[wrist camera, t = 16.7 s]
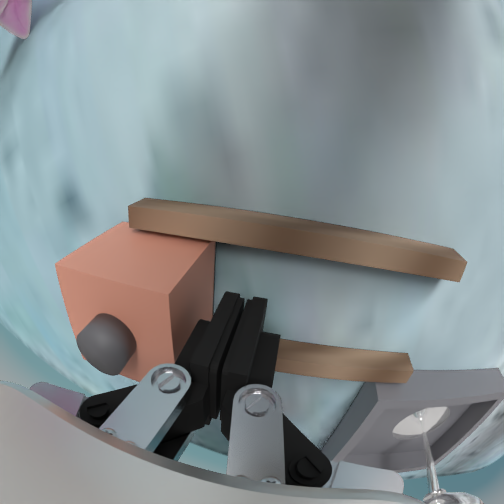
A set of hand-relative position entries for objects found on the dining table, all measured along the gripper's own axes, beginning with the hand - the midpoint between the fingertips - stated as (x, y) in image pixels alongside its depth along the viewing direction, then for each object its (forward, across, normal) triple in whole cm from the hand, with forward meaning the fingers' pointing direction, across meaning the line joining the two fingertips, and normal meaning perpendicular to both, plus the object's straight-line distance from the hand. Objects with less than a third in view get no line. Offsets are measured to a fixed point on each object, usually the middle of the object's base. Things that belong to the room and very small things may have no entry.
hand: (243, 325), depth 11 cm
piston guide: (+3, -2, +1) cm, 4 cm away
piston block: (+3, +4, 0) cm, 5 cm away
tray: (+3, -13, +10) cm, 17 cm away
